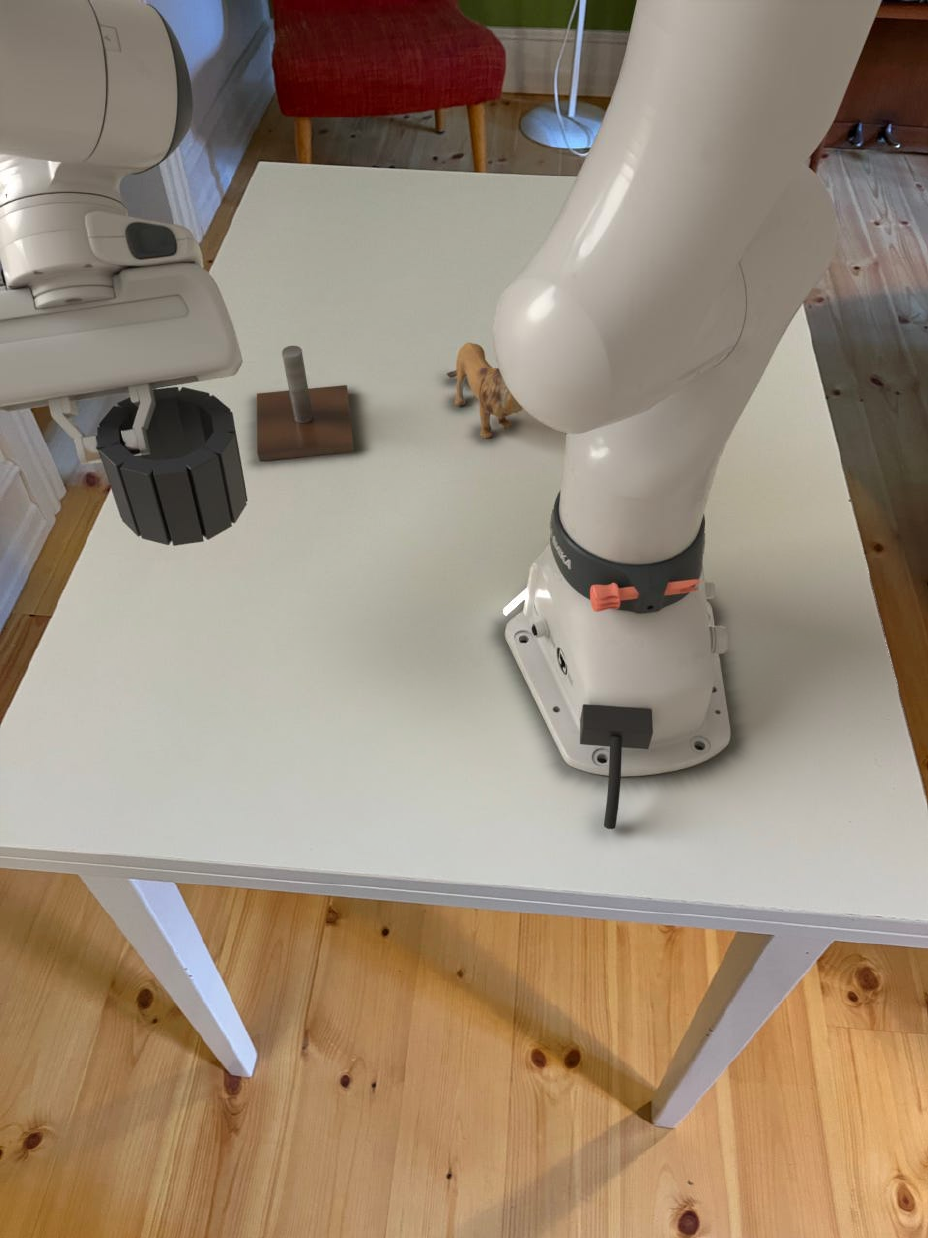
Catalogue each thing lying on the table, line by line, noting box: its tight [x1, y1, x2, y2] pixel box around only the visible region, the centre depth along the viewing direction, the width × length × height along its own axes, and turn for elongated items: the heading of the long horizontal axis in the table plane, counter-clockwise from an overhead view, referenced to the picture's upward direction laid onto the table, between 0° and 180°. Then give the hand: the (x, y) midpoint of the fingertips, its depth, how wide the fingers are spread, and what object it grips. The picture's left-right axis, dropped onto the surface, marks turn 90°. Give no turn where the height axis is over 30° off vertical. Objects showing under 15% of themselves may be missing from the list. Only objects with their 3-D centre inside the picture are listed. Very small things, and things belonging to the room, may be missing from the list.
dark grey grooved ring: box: [96, 386, 249, 547], centre depth 69 cm, size 9×9×7 cm
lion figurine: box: [446, 341, 524, 439], centre depth 99 cm, size 15×5×9 cm, turn 34°
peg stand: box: [256, 345, 355, 462], centre depth 97 cm, size 10×10×10 cm
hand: (116, 459), depth 66 cm, fingers closed on dark grey grooved ring
